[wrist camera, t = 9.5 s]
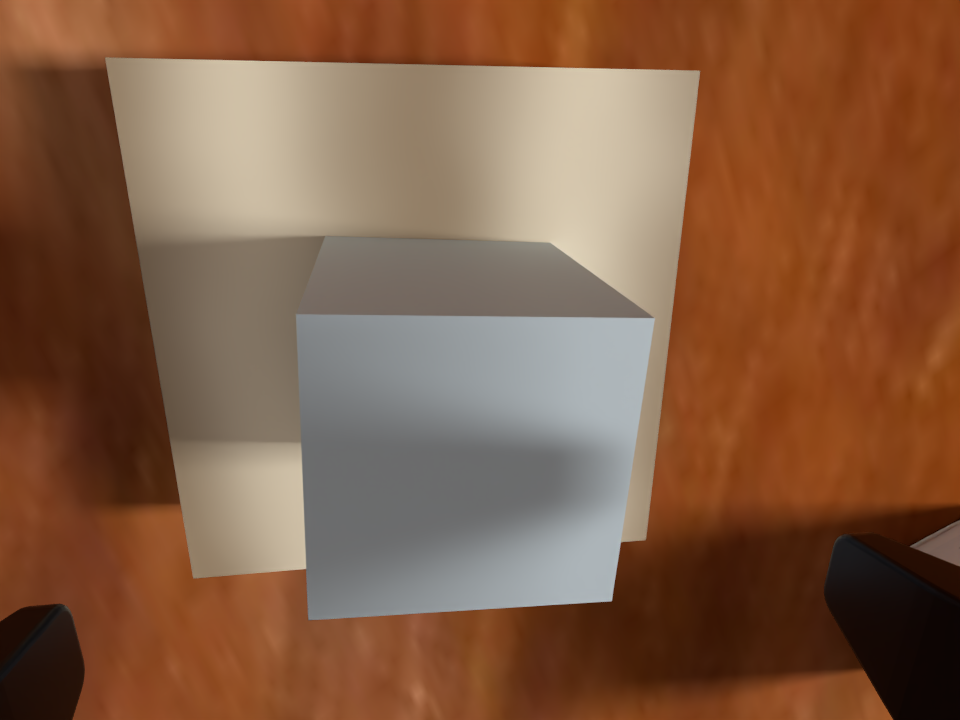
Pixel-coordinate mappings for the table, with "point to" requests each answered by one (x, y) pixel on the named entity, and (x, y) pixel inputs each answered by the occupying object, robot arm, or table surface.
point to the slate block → (463, 426)
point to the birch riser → (367, 235)
